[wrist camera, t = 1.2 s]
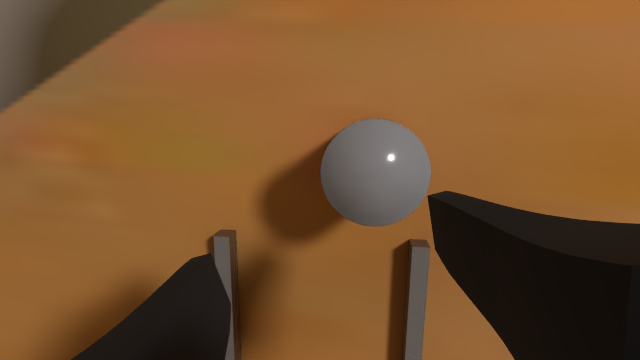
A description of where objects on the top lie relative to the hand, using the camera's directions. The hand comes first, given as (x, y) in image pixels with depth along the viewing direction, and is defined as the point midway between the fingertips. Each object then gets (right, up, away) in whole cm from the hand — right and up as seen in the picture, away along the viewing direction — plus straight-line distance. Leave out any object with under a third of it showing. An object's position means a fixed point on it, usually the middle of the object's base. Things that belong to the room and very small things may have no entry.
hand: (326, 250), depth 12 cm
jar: (+3, +4, +10) cm, 11 cm away
